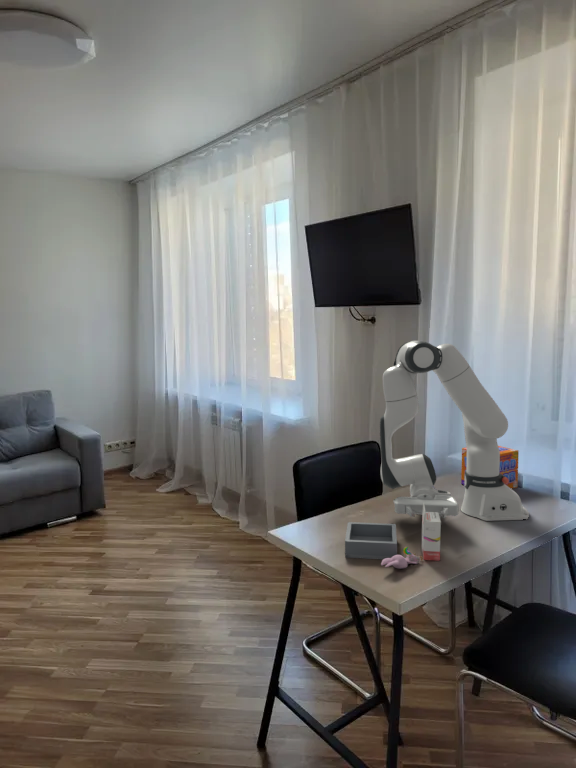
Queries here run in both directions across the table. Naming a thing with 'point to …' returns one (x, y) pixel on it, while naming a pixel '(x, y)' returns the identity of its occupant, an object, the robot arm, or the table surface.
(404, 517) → the table surface
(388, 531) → the cartridge bin
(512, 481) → the game box
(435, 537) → the ink cartridge box
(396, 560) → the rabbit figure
